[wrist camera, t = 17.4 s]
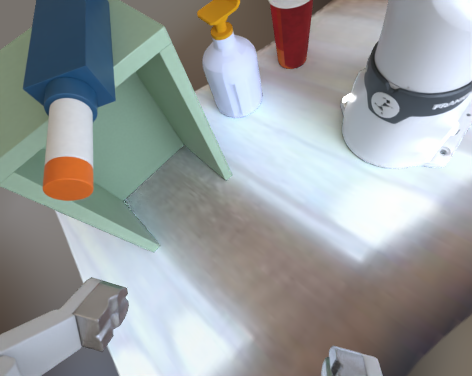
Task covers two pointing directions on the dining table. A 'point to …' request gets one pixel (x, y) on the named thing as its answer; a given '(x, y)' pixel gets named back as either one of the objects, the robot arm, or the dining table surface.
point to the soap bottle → (230, 63)
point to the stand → (110, 126)
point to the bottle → (70, 87)
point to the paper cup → (291, 30)
